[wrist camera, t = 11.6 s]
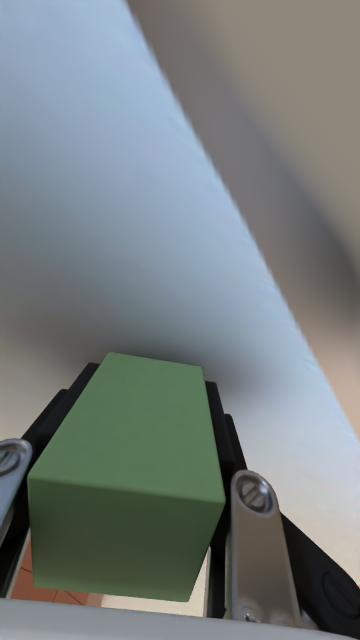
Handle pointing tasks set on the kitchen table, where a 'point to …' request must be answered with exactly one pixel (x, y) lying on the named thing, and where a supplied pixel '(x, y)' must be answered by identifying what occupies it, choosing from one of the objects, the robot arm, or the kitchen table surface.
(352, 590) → the robot arm
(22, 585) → the bowl
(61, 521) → the sage-green block
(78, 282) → the kitchen table surface
